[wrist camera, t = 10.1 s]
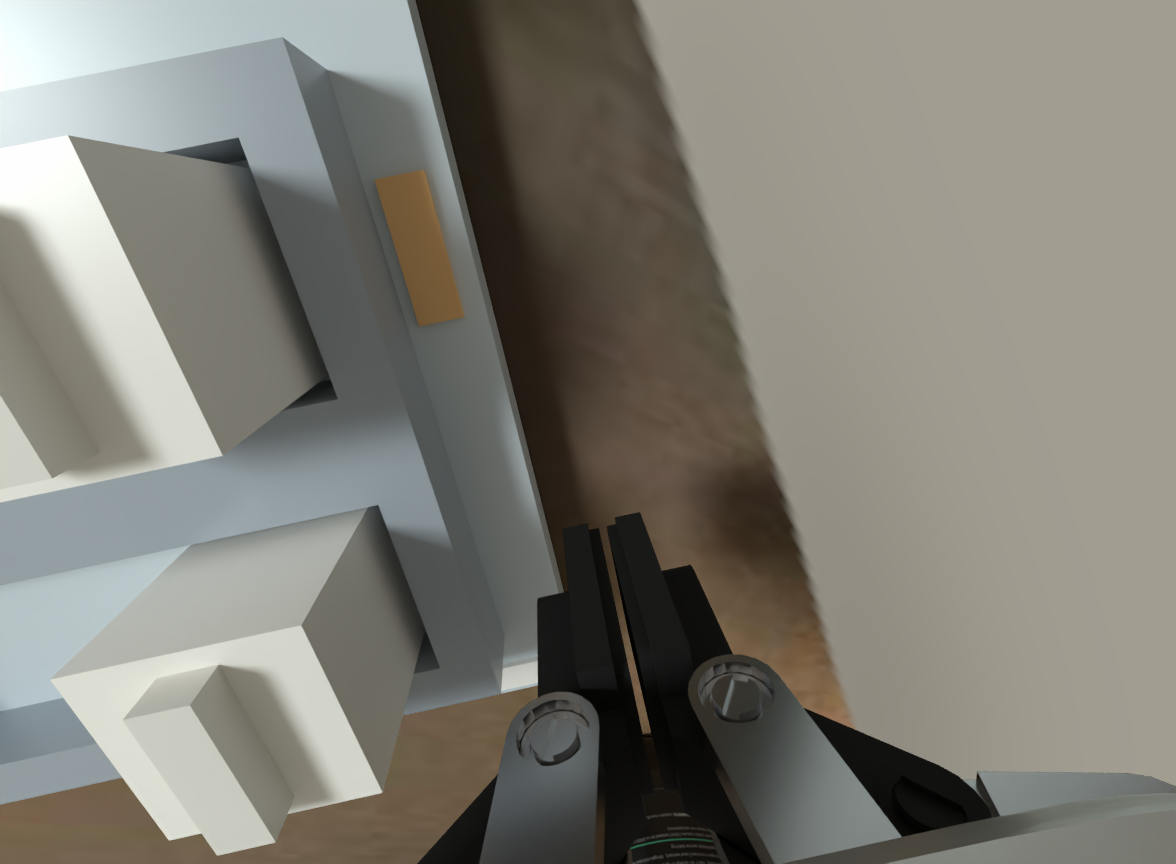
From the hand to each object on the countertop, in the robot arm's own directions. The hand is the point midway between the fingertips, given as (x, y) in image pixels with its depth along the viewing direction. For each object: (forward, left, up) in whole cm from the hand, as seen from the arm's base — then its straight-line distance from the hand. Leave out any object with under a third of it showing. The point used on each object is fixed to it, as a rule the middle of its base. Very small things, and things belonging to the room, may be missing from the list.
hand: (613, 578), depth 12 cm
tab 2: (0, -7, -3) cm, 8 cm away
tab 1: (-7, -7, -3) cm, 10 cm away
